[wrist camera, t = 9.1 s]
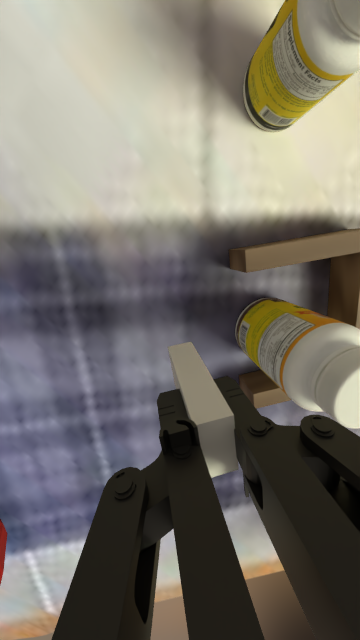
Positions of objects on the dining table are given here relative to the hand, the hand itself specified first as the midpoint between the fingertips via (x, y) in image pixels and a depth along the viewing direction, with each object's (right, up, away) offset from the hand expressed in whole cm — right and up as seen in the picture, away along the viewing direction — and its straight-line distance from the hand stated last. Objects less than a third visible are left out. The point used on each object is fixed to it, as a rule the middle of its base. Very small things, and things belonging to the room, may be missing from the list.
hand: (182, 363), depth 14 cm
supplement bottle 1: (+6, +18, +1) cm, 19 cm away
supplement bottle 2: (+7, +2, +6) cm, 10 cm away
